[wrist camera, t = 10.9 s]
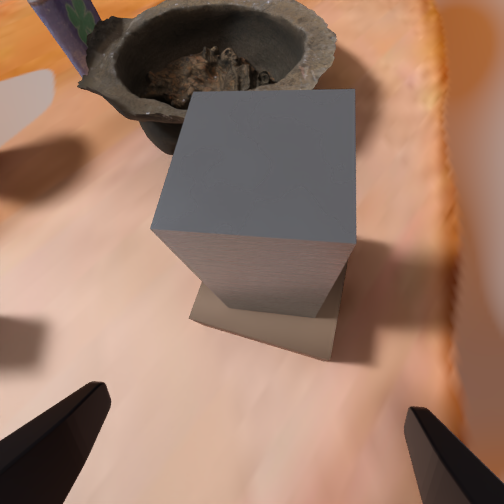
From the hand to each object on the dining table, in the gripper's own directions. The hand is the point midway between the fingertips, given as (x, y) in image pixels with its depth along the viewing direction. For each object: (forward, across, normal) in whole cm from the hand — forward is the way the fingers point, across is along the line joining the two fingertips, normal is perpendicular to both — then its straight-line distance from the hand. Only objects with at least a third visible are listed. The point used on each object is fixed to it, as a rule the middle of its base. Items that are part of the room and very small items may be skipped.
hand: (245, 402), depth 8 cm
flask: (+39, +27, -19) cm, 51 cm away
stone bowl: (+31, +7, -12) cm, 34 cm away
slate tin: (+12, 0, +2) cm, 12 cm away
